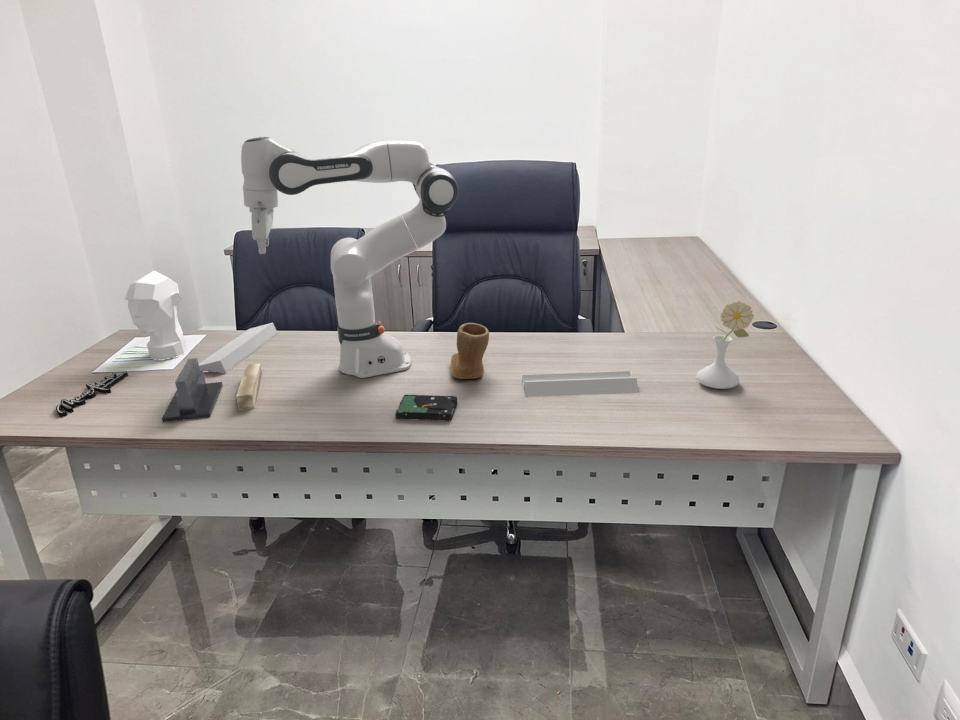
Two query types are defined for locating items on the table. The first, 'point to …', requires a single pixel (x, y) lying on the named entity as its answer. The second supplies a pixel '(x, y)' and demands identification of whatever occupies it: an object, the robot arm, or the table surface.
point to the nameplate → (89, 393)
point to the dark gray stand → (192, 395)
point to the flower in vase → (719, 372)
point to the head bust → (157, 314)
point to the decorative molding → (238, 349)
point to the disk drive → (426, 407)
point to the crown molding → (579, 383)
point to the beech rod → (249, 387)
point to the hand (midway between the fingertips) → (264, 249)
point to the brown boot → (469, 351)
